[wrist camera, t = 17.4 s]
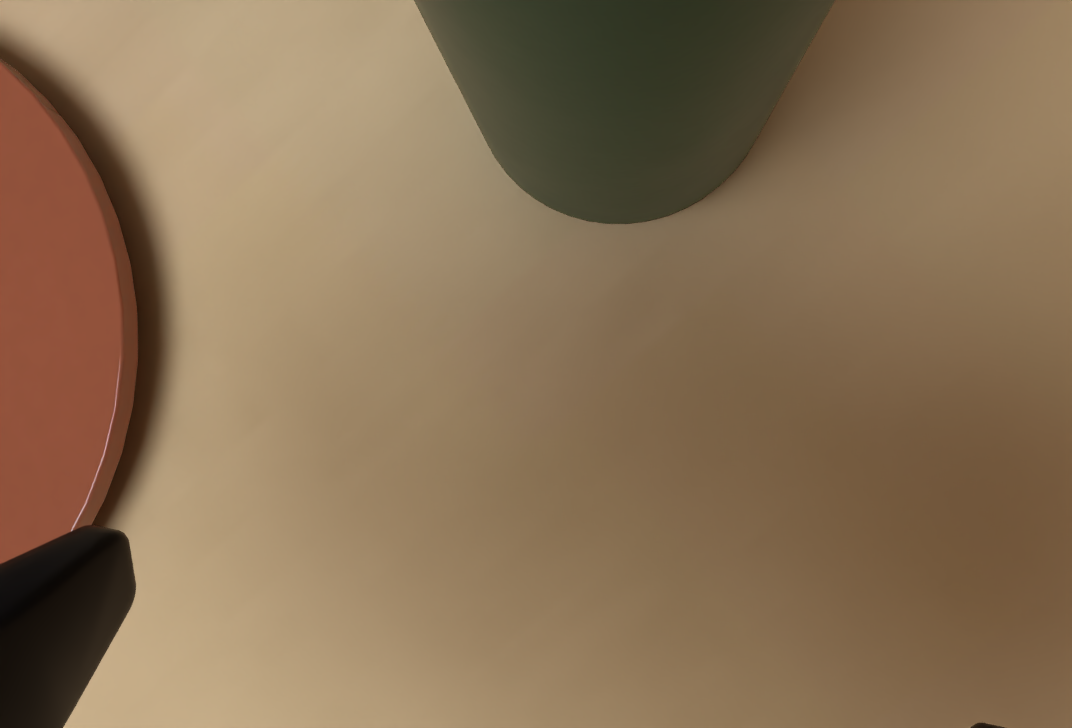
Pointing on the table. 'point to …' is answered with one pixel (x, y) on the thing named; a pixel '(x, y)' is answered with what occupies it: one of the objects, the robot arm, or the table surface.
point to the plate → (58, 326)
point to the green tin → (621, 92)
